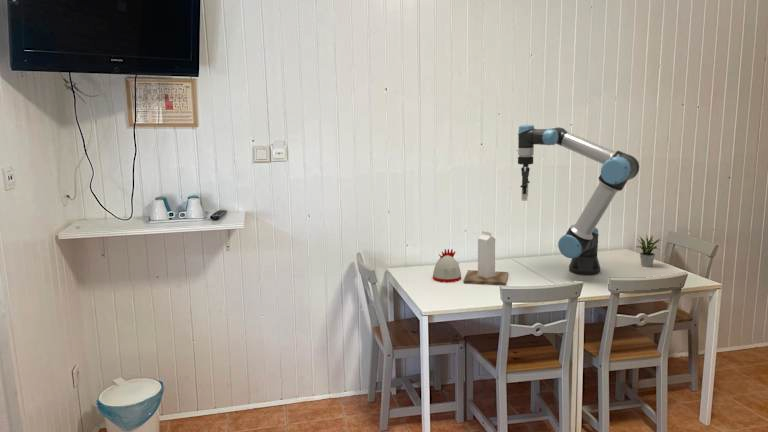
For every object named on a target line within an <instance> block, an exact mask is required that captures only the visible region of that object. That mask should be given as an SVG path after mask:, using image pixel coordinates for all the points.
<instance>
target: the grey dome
mask: <svg viewBox="0 0 768 432" xmlns="http://www.w3.org/2000/svg"><path fill="white" fill-rule="evenodd" d="M438 255H439V257H440V258H439V259H438V260H437V261H436V263H435V265H434V268H433V269H434V270H433V271H432V272H433V273H432V279H433V281H436V282H438V283H457V282H459V281H461V280H462V272H461V269H460V263H458V261H457V260H456V259H455V258H454V256H455V255H456V250H455V251H453V248H451V249H449V248H447V249H446V248H444V252H443V251H441V254H440V253H438Z"/></svg>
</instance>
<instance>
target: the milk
mask: <svg viewBox="0 0 768 432" xmlns="http://www.w3.org/2000/svg"><path fill="white" fill-rule="evenodd" d="M477 271H478V276H480V277H483V278H490V277H494V276H495V271H496V238H495V237H494V236H492V232H488V231H484V230H482V232H481V234H480V236H479V237H478V238H477Z"/></svg>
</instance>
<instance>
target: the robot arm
mask: <svg viewBox="0 0 768 432" xmlns="http://www.w3.org/2000/svg"><path fill="white" fill-rule="evenodd" d="M517 135H518V138H517V139H518V140H517V141H518V145H517V149H516V152H517V155H518V157H517V164H518V165H522V167H521V168H520V170H521V172H520V173H521V185H520V188H521V201H523V202H524V201H528V197H529V184H530V182H531V181H529V175H530V169H531V168H530V167H529V165H533V164H534V150H535V149H534V148H535V146H534V145H542V146H554V145H558V146H560V147H563V148H565V149H568V150H570V151H572V152H574V153H577V154H579V155H581V156H583V157H586V158H587V159H590V160H593V161H594V162H597V163H599V164H602V165H601V168H600V175H599V177H598V182H599V183H598V185H597V186H596V188H595V190H594V192H593V194H592V195H591V197H590V199H589V200H588V201H587V203H586V205H585V207H584V209H583V211H582V212H581V214H580V215H579V217H578V219H577V220H576V222H575V223H574V224H571V225H570V226H569V228H568V230H567V231H566V233H565V235H561V237H560V238H559V240H558V242H557V247H558V250H559V252H560V253H561V255H562V256H564V257H565V258H568V259H570V262H569V265H568V271H569V272H570V273H571V274H575V275H581V276H593V275H595V276H596V275H599V274H600V273H601V264H600V262H599V258H598V251H599V250H598V249H599V229H598V227H596V226H598V224H599V222H600V220H601V219H602V217H603V216H604V214H605V212H606V210H607V209H608V207H609V205H610V204H611V203H612V200H613V199H614V197H615V196H616V193H617V192H621V191H623V189H624V187H625V186H626V184H627V183H628V181H630V180H632V179H634V178H636V176H637V175H638V174H639V171H640V163H639V161H638V159H637V158H636V157H635V156H633V155H630V154H628V153H625V152H623V151H620V150H615V151H614V150H613V149H610V148H607V147H604V146H602V145H600V144H598V143H595V142H593V141H590V140H588V139H586V138H584V137H581V136H578V135H576V134H574V133H571V132H569V131H567V130H566V128H563V127H555V128H542V129H541V128H535V125H534V124H520V125H519V126H518V132H517Z"/></svg>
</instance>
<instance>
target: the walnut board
mask: <svg viewBox="0 0 768 432" xmlns="http://www.w3.org/2000/svg"><path fill="white" fill-rule="evenodd" d="M508 278H509V271H496V270H495V276H494V277H490V278H483V277H480V276H478V270H475V269H474V270H471V269H469V270H467V272H466V274H465V276H464V279H463V282H462V283H463V284H468V285H469V284H470V285H471V284H472V285H488V286H489V285H491V286H507V283H506V282H508Z"/></svg>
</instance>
